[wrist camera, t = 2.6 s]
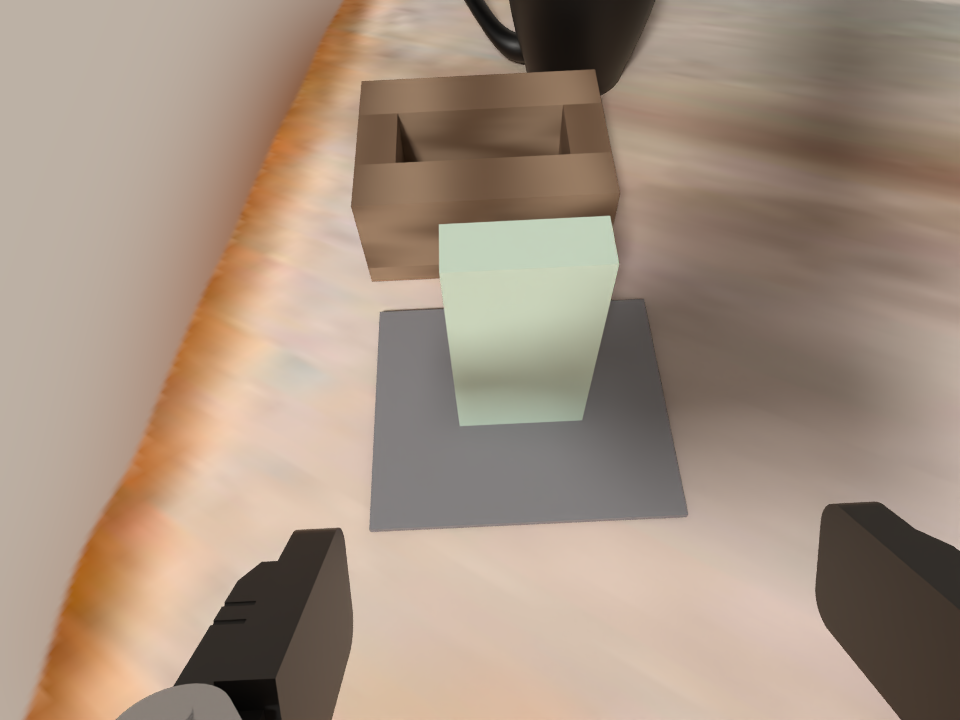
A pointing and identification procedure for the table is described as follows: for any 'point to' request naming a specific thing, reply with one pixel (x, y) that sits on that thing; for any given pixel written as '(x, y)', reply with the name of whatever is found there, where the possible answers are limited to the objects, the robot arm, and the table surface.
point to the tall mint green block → (525, 315)
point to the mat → (519, 439)
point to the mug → (568, 34)
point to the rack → (474, 160)
